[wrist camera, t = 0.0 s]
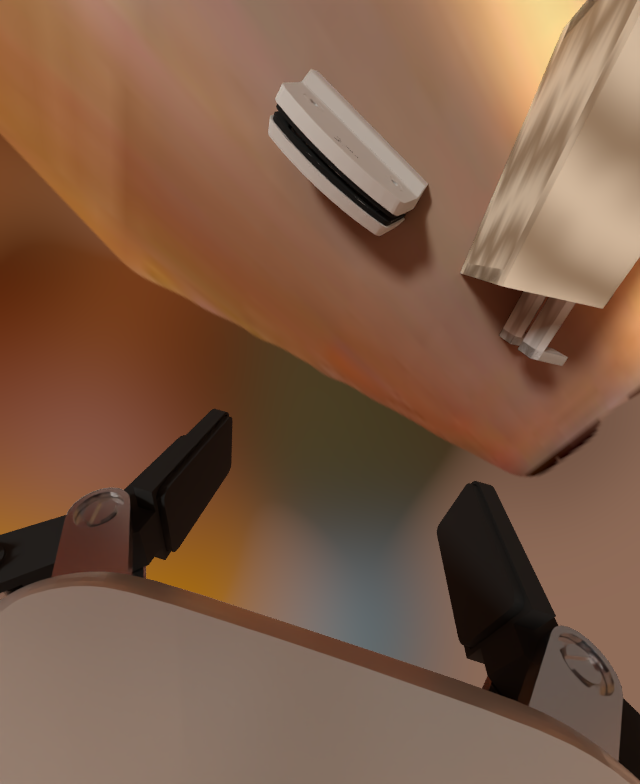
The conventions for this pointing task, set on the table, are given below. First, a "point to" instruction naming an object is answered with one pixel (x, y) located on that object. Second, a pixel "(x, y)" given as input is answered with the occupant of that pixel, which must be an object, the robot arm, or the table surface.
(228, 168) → the table surface
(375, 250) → the table surface
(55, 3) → the table surface
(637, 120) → the cabinet
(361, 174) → the white electronic device
